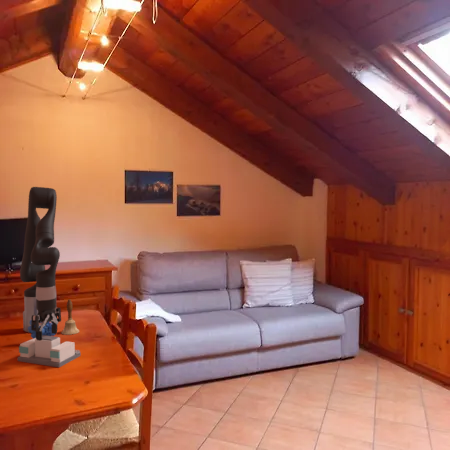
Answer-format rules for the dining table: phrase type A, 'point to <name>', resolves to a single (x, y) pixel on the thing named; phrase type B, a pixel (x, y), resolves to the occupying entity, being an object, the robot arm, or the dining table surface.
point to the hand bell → (70, 322)
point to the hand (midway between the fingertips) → (47, 336)
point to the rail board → (57, 354)
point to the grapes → (45, 330)
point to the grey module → (45, 346)
